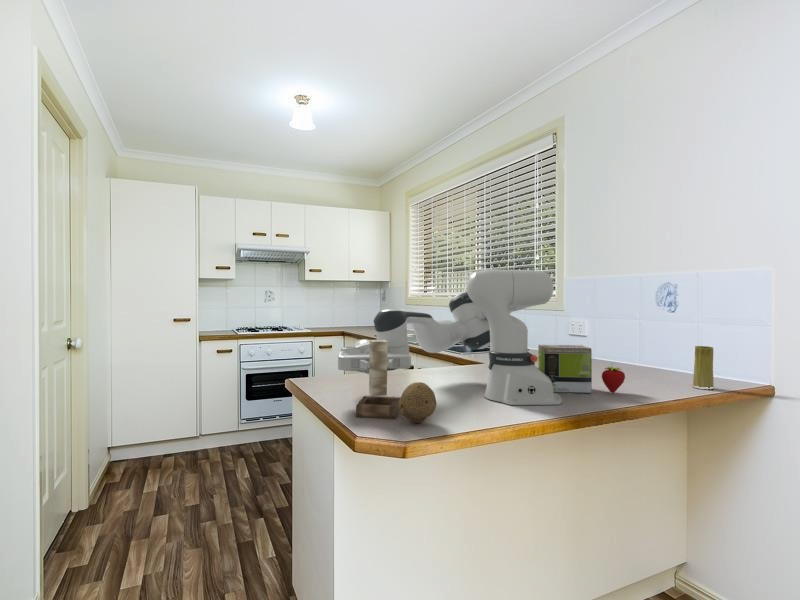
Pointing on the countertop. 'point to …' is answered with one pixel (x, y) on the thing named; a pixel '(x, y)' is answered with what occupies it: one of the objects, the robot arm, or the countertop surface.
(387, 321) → the robot arm
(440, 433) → the countertop surface
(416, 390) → the natural sponge
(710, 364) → the vase
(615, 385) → the strawberry
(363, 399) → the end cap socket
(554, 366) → the tea box
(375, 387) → the beige tall block
